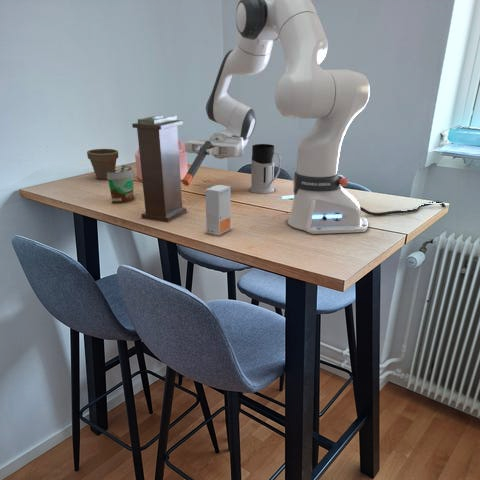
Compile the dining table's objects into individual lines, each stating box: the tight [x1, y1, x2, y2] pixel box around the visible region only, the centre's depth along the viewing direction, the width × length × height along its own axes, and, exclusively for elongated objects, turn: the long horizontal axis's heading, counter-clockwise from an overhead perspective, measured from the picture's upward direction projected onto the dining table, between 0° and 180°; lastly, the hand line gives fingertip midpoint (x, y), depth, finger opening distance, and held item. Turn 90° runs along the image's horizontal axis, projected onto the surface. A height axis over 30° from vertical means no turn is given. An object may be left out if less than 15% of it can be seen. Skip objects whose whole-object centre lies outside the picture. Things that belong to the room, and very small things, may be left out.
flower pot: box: [86, 148, 119, 181], centre depth 180 cm, size 12×11×10 cm
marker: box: [181, 141, 212, 187], centre depth 153 cm, size 19×2×2 cm, turn 155°
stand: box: [131, 114, 188, 223], centre depth 135 cm, size 12×9×27 cm
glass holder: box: [249, 143, 282, 194], centre depth 161 cm, size 9×14×15 cm, turn 33°
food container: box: [107, 164, 135, 204], centre depth 153 cm, size 12×6×10 cm, turn 168°
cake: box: [134, 139, 189, 181], centre depth 180 cm, size 20×20×14 cm
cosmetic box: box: [205, 184, 232, 236], centre depth 125 cm, size 6×4×12 cm
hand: (202, 151), depth 155 cm, fingers closed on marker, 2 cm apart
